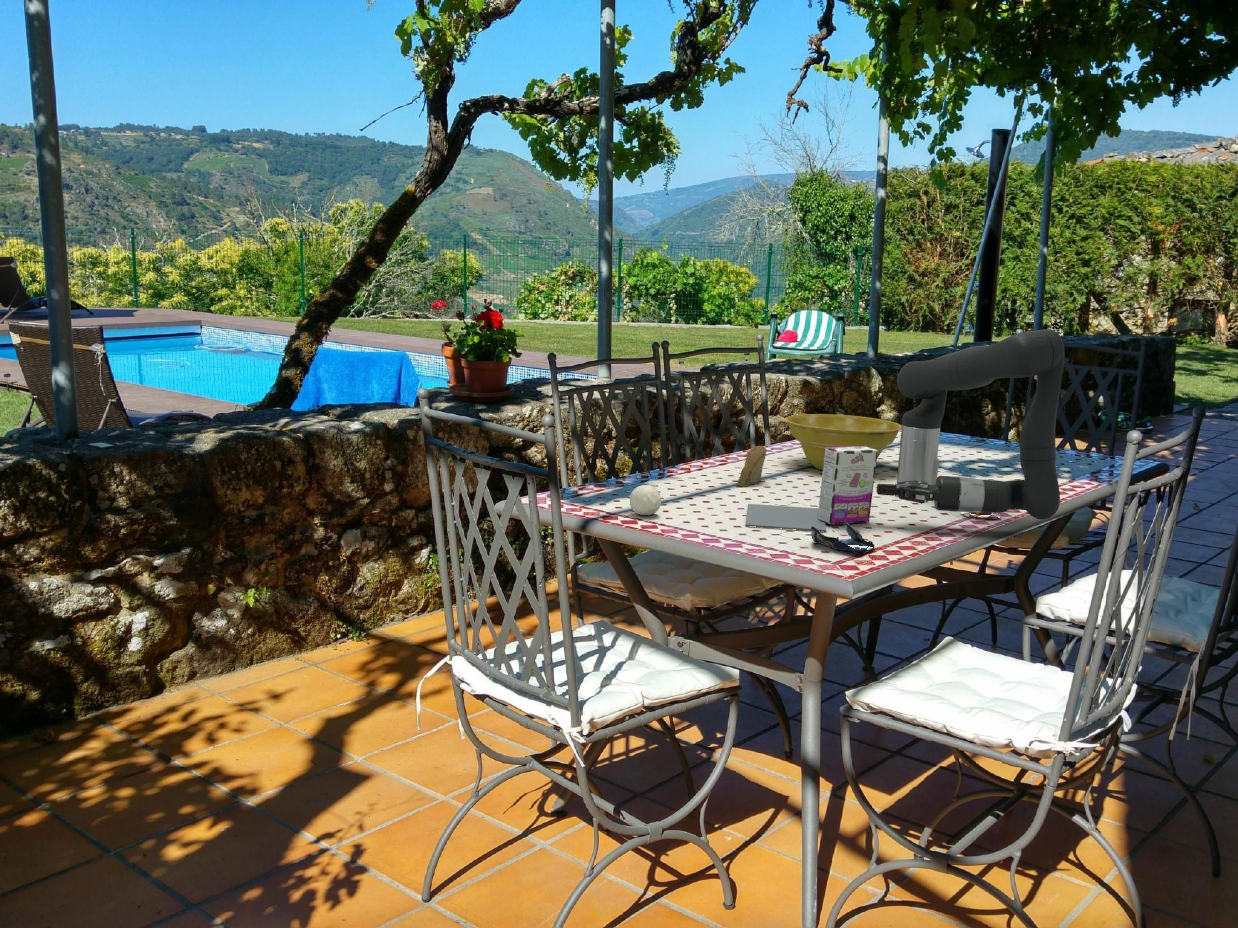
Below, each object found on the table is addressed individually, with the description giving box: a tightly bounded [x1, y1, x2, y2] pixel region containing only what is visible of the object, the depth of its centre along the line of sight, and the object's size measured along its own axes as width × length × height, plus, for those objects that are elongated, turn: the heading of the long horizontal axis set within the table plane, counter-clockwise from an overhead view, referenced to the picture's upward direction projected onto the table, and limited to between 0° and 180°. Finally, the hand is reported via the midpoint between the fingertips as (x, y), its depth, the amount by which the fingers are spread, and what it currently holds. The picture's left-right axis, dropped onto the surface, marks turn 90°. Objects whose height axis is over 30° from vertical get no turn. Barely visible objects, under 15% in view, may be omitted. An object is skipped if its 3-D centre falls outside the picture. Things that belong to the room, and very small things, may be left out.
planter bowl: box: [783, 413, 902, 471], centre depth 288 cm, size 32×32×13 cm
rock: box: [736, 445, 767, 487], centre depth 265 cm, size 11×9×10 cm
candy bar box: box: [818, 446, 878, 526], centre depth 226 cm, size 11×5×16 cm, turn 117°
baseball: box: [629, 484, 662, 516], centre depth 227 cm, size 7×7×7 cm
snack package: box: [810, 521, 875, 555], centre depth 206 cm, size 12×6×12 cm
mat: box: [744, 503, 827, 533], centre depth 229 cm, size 17×20×1 cm
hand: (877, 489), depth 225 cm, fingers closed
